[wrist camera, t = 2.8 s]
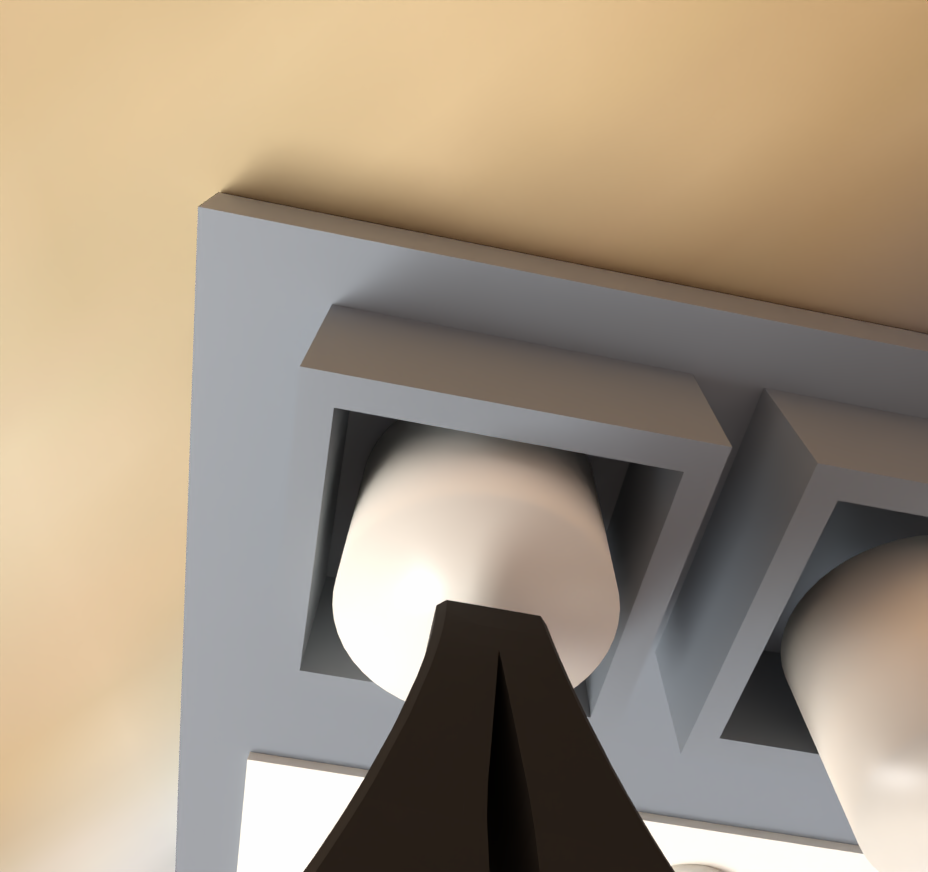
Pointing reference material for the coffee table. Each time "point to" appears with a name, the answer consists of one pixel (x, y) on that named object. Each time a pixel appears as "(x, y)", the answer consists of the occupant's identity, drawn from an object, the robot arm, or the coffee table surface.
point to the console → (546, 424)
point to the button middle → (870, 694)
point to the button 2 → (472, 548)
